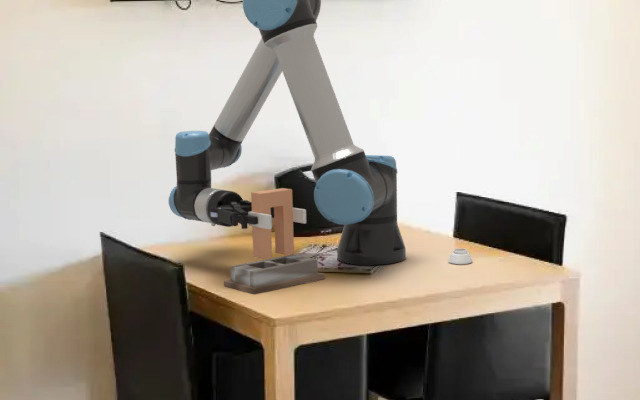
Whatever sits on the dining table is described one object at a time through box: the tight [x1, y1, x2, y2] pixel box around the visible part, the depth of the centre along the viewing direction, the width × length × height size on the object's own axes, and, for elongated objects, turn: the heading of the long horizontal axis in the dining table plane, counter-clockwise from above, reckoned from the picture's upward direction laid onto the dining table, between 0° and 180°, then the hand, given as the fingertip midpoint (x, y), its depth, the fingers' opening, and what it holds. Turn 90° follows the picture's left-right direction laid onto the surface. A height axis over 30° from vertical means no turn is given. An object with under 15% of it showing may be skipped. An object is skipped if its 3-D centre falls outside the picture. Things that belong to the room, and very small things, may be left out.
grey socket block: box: [223, 253, 326, 295], centre depth 214 cm, size 10×18×4 cm, turn 131°
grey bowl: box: [448, 248, 473, 266], centre depth 229 cm, size 5×3×5 cm
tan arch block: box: [250, 187, 295, 260], centre depth 213 cm, size 3×8×13 cm, turn 131°
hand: (287, 219), depth 209 cm, fingers closed on tan arch block, 8 cm apart
